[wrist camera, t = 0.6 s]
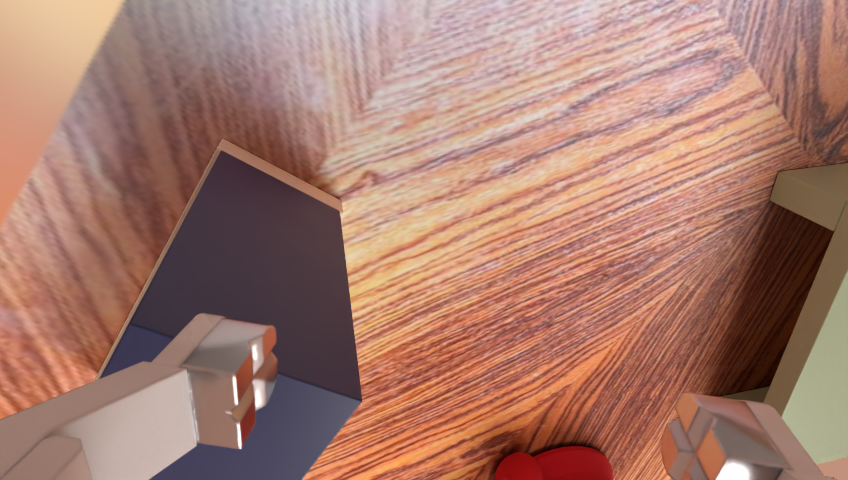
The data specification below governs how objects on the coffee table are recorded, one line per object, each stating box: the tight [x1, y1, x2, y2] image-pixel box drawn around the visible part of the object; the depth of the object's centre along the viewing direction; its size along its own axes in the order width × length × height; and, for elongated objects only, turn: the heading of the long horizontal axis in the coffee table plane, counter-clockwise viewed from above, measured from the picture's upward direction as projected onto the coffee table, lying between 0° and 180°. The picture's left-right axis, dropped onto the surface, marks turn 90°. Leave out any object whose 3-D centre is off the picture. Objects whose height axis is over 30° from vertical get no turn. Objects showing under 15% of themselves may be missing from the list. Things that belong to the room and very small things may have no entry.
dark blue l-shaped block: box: [94, 139, 362, 480], centre depth 20 cm, size 16×6×14 cm, turn 145°
